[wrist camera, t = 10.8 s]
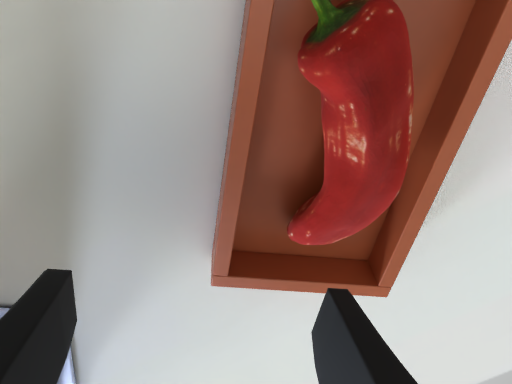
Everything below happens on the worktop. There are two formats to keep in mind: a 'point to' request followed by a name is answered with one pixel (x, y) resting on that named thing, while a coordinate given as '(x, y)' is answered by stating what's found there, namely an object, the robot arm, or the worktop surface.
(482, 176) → the worktop surface
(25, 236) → the worktop surface
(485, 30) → the tray
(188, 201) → the worktop surface
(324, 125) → the vegetable
